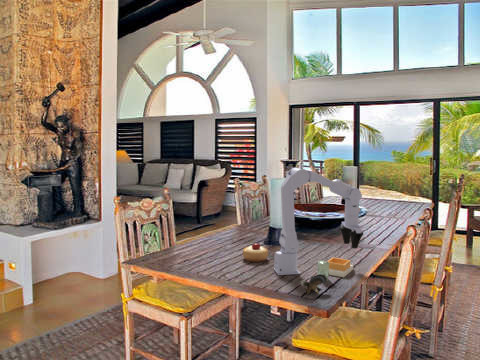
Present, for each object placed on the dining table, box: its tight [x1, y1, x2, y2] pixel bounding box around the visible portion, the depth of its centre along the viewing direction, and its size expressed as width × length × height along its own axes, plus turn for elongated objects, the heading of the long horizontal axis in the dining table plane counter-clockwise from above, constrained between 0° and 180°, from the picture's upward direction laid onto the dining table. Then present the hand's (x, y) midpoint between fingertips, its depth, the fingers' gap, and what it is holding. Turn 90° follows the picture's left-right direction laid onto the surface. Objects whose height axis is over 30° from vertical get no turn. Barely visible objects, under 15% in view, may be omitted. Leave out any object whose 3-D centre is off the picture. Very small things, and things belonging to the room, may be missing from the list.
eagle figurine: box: [300, 274, 327, 296], centre depth 148 cm, size 8×7×9 cm
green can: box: [316, 260, 330, 282], centre depth 161 cm, size 4×4×7 cm
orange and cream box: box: [327, 256, 354, 278], centre depth 171 cm, size 12×9×4 cm
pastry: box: [242, 240, 269, 263], centre depth 188 cm, size 12×12×9 cm
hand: (350, 245), depth 174 cm, fingers open, 7 cm apart
